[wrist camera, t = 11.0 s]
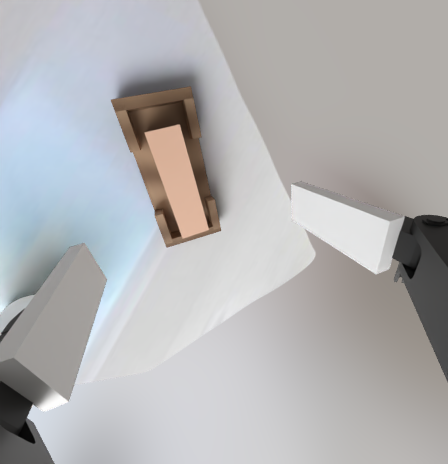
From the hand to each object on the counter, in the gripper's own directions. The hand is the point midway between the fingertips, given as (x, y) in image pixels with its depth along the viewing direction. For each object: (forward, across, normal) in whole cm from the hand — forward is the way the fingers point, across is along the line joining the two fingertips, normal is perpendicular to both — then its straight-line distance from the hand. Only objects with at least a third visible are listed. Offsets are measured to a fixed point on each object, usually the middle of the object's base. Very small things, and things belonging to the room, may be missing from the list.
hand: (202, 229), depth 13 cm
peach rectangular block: (+21, 0, -1) cm, 21 cm away
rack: (+21, 0, 0) cm, 21 cm away
